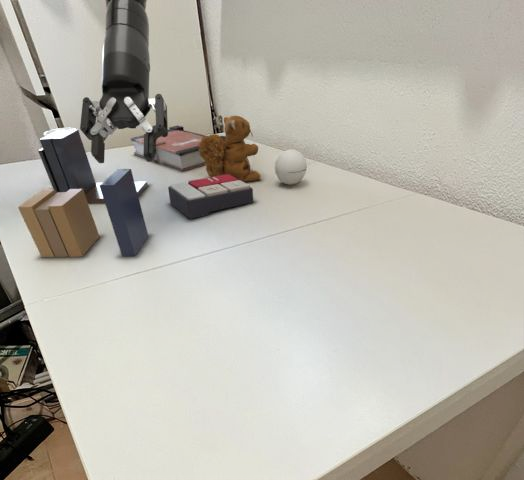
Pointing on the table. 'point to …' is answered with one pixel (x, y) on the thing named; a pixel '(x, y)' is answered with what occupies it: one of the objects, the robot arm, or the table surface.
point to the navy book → (124, 211)
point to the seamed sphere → (290, 167)
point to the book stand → (72, 165)
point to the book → (175, 149)
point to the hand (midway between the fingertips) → (123, 160)
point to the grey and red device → (209, 195)
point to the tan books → (60, 223)
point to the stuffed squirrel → (230, 151)
